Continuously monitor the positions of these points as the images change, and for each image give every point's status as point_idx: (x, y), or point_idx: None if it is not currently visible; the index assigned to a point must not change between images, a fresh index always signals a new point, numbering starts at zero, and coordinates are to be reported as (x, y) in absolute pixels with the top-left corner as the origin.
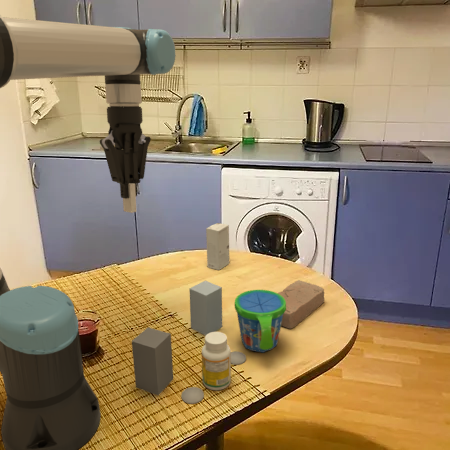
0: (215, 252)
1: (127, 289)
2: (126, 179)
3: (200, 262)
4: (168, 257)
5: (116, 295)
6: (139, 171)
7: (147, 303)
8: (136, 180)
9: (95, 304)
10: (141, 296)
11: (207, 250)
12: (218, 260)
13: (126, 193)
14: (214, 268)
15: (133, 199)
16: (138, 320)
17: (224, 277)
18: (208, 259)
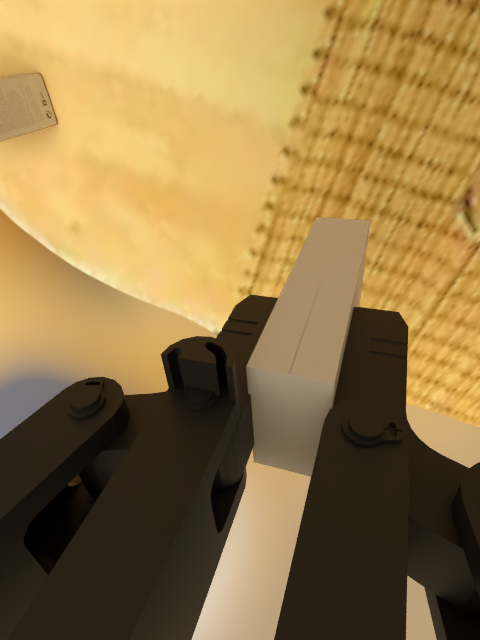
0: (2, 94)
1: (305, 222)
2: (384, 464)
3: (56, 167)
4: (107, 264)
5: None
6: (66, 481)
7: (337, 101)
8: (210, 385)
9: (424, 232)
10: (313, 154)
11: (17, 132)
12: (16, 77)
13: (378, 341)
14: (46, 92)
15: (323, 270)
16: (446, 29)
17: (52, 14)
18: (37, 122)
